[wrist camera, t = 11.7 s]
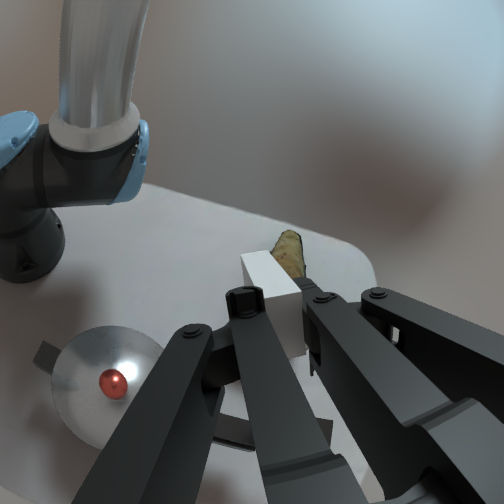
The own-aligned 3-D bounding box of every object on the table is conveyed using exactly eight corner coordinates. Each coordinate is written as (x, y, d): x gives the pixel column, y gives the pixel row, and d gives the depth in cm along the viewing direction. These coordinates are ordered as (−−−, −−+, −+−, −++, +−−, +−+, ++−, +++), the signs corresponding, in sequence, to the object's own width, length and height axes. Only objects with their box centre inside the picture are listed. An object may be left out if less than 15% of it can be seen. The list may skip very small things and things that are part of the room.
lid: (36, 416, 22) (7, 400, 16) (85, 312, 31) (74, 273, 26) (284, 498, 24) (321, 503, 19) (303, 388, 34) (337, 367, 28)
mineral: (278, 203, 56) (323, 230, 58) (255, 235, 62) (297, 258, 64) (250, 323, 36) (317, 353, 38) (220, 351, 42) (279, 375, 44)
